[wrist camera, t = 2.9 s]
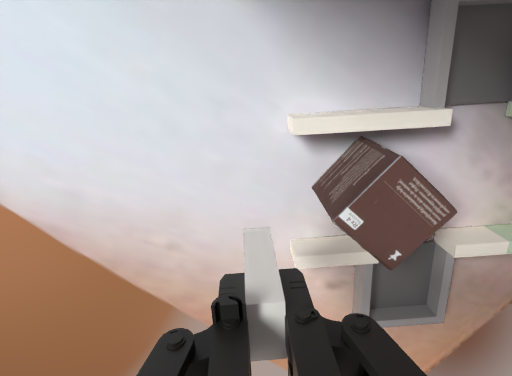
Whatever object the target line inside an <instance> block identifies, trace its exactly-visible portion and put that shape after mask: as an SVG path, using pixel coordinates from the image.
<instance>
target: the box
mask: <svg viewBox="0 0 512 376" xmlns="http://www.w3.org/2000/svg"><path fill="white" fill-rule="evenodd" d="M312 189H313V190H314V192H315V193H316V195H317V196H318V198H319V200H320V202H321V203H322V205H323V206H324V208H325V210H326V211H327V213H328V215H329V216H330V218H331V220H332V222H333V223H334V224H336V225H337V226H338V227H339V228H340V229H341V230H342V231H344V232H345V233H346V234H347V235H348V236H350V237H351V238H352V239H353V240H354V241H356V242H357V243H358V244H359V245H360V246H361V247H362V248H363V249H364V250H366V251H367V252H369V253H370V254H371V255H372V256H373V257H374V258H376V259H377V260H378V261H379V262H380V263H381V264H382V265H384V266H385V267H386V268H387V269H389V270H393V269H394V268H395V267H397V266H398V265H399V264H400V263H401V262H402V261H403V260H404V259H406V258H407V257H408V256H409V255H410V254H411V253H412V252H413V251H414V250H416V249H417V248H418V247H419V246H420V245H421V244H422V243H423V242H425V241H426V240H427V239H428V238H429V237H430V236H432V235H433V234H434V233H435V232H436V231H437V230H438V229H440V228H441V227H442V226H443V225H444V224H445V223H446V222H448V221H449V220H450V219H451V218H452V217H453V216H454V215H455V214H456V213H457V211H456V209H455V208H454V207H453V206H452V205H451V204H450V203H449V202H448V201H447V200H446V198H445V197H444V196H443V195H442V194H441V193H440V192H439V191H438V190H437V189H436V188H435V187H434V186H432V185H431V184H430V183H429V182H428V181H427V180H426V178H424V177H423V176H422V175H421V174H420V173H419V172H418V171H417V170H416V169H415V168H414V167H413V166H412V165H411V164H410V163H409V162H408V161H407V160H406V159H405V158H404V157H403V156H401V155H398V154H396V153H394V152H392V151H390V150H388V149H386V148H385V147H382V146H380V145H378V144H376V143H374V142H373V141H370V140H368V139H366V138H364V137H362V136H361V137H359V138H358V139H357V140H356V141H355V142H354V143H353V144H352V145H351V146H350V147H349V148H348V149H347V150H346V151H345V153H344V154H342V156H341V157H340V158H339V159H338V160H337V161H336V162H335V163H334V164H333V165H332V166H331V167H330V168H329V169H328V170H327V171H326V172H325V173H324V174H323V175H322V176H321V177H320V178H319V179H318V180H317V181H316V182H315V183H314V185H313V186H312Z"/></svg>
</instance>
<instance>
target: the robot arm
mask: <svg viewBox="0 0 512 376" xmlns="http://www.w3.org/2000/svg"><path fill="white" fill-rule="evenodd" d="M243 232H244V269H245V273H236V274H225V275H224V276H223V278H222V279H221V280H220V286H219V296H218V298H216V299H215V300H214V301H213V303H212V305H211V310H212V318H213V325H212V326H211V327H209V328H208V329H206V330H204V331H202V332H200V333H197V334H194V335H193V334H192V332H191V331H189V330H188V329H184V328H179V329H178V328H177V329H173V330H170V331H168V332H167V333H165V334H163V336H162V337H161V338H160V339H159V340H158V342H157V344H156V345H155V347H154V348H153V350H152V352H151V353H150V355H149V357H148V358H147V360H146V361H145V363H144V365H143V366H142V368H141V369H140V371H139V373H138V374H137V376H251V362H250V361H261V360H273V359H285V358H287V357H288V376H427V375H426V374H425V373H424V372H423V371H422V370H421V369H420V368H419V367H418V366H417V365H416V364H415V363H414V362H413V360H412V359H411V358H410V357H409V356H408V355H407V354H406V353H405V352H404V351H403V350H402V349H401V348H400V347H399V346H398V344H397V343H396V342H395V341H394V340H393V339H392V338H391V337H390V336H389V335H388V334H387V333H386V332H385V331H384V329H383V328H382V327H381V326H380V325H379V324H378V323H377V322H376V321H375V320H374V319H372V318H371V317H369V316H367V315H364V314H359V313H353V314H349V315H347V316H345V317H344V319H343V320H342V322H339V321H333V320H329V319H326V318H324V317H322V316H321V315H320V314H319V312H318V311H317V310H316V309H314V306H313V303H312V300H311V297H310V294H309V291H308V288H307V285H306V282H305V279H304V276H303V274H302V273H301V272H300V271H299V270H298V269H297V268H293V269H280V270H278V265H277V260H276V256H275V251H274V246H273V241H272V237H271V232H270V227H263V228H249V229H243Z"/></svg>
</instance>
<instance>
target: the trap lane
mask: <svg viewBox="0 0 512 376" xmlns="http://www.w3.org/2000/svg"><path fill="white" fill-rule="evenodd" d="M507 101H508V104H507V109H506V114H505V116H508V117H512V0H431V8H430V17H429V26H428V35H427V44H426V53H425V62H424V71H423V80H422V89H421V98H420V106H417V107H400V108H383V109H367V110H350V111H333V112H317V113H300V114H287V119H288V130H289V131H290V132H291V133H292V134H293V135H310V134H326V133H342V132H358V131H375V130H391V129H407V128H423V127H440V126H450V125H451V119H452V112H453V109H450V108H444V107H445V105H457V104H474V103H490V102H507ZM290 252H291V255H292V259H293V262H294V266H295V268H297V269H307V268H321V267H335V266H349V265H356V266H355V284H354V301H353V313H359V314H364V315H367V316H369V317H371V318H372V319H374V320H375V321H376V322H377V323H378V324H379V325H380V326H381V327H382V328H383V327H396V326H409V325H422V324H435V323H444V318H445V312H446V306H447V300H448V294H449V289H450V283H451V277H452V271H453V265H454V260H455V258H460V257H474V256H488V255H502V254H512V224H504V225H490V226H475V227H461V228H447V229H438V230H437V231H436V232H435V236H434V241H425V242H423V243H422V244H421V245H420V246H419V247H418V248H417V249H416V250H414V251H413V252H412V253H411V254H410V255H409V256H408V257H407V258H406V259H404V260H403V261H402V262H401V263H400V264H399V265H398V266H397V267H395V268H394V269H393V270H389V269H387V268H386V267H385V266H384V265H382V264H381V263H380V262H379V261H378V260H377V259H376V258H374V257H373V256H372V255H371V254H370V253H369V252H367V251H366V250H364V249H363V248H362V247H361V246H360V245H359V244H358V243H357V242H356V241H354V240H353V239H352V238H351V237H350V236H348V235H346V236H332V237H317V238H303V239H290Z"/></svg>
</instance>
